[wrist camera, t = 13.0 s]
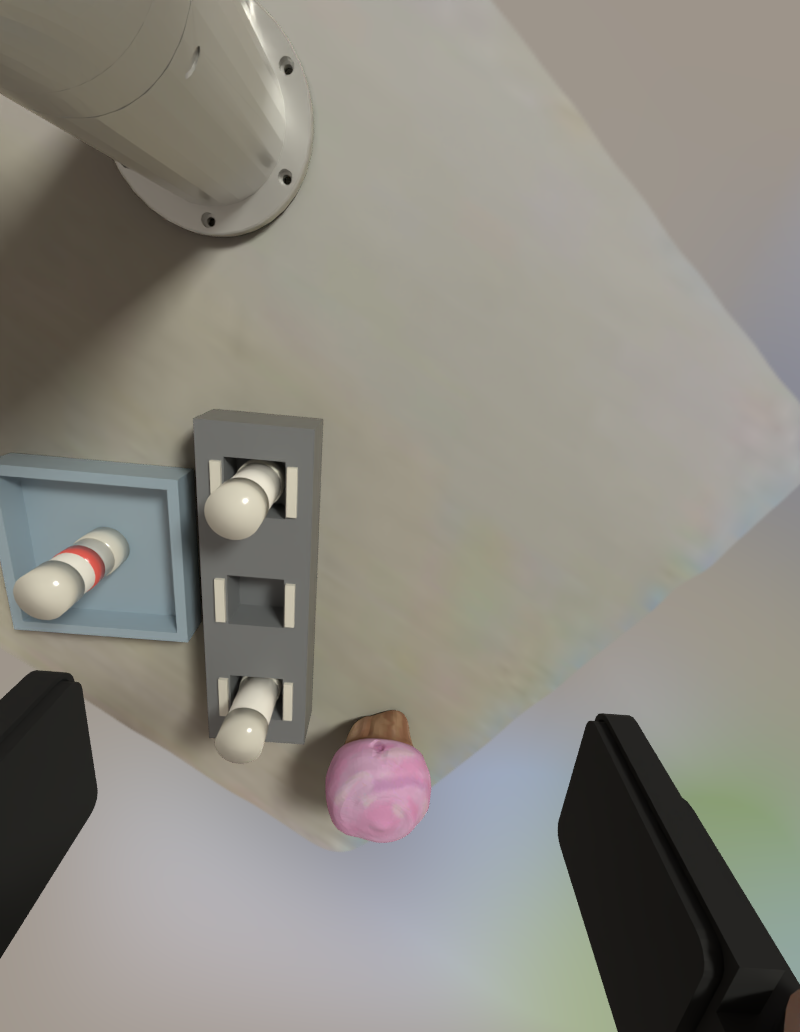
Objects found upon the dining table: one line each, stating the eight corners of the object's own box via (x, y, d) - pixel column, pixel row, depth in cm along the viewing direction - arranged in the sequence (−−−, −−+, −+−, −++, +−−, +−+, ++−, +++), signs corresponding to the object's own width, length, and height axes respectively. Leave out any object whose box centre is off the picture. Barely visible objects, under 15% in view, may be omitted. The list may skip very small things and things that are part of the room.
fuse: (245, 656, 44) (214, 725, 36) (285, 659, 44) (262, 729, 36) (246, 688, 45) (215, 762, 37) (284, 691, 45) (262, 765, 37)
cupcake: (429, 761, 49) (436, 864, 40) (340, 766, 49) (326, 870, 40) (423, 686, 46) (430, 779, 37) (328, 692, 46) (311, 786, 37)
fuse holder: (213, 408, 37) (191, 419, 33) (323, 419, 37) (314, 430, 33) (224, 704, 47) (208, 740, 43) (311, 710, 47) (303, 747, 43)
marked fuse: (83, 525, 40) (8, 572, 32) (127, 528, 40) (62, 575, 32) (89, 564, 41) (18, 618, 33) (132, 567, 41) (70, 621, 34)
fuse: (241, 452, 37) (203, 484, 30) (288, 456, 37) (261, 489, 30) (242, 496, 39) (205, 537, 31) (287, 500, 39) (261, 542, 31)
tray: (10, 452, 38) (-20, 462, 35) (193, 468, 39) (177, 480, 36) (39, 609, 43) (14, 629, 40) (201, 621, 44) (187, 642, 41)
